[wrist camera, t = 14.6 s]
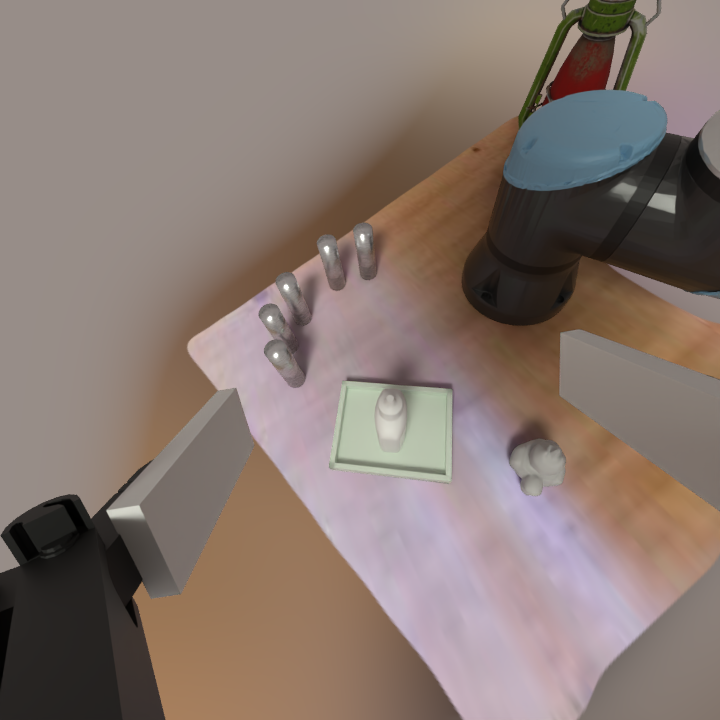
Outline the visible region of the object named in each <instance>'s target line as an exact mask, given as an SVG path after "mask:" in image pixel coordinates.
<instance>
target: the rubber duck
mask: <svg viewBox="0 0 720 720" xmlns="http://www.w3.org/2000/svg"><path fill="white" fill-rule="evenodd" d="M565 463H566V458H565V455H564V454H563V452H562V450H561V448H560V447H559V446H558V444H557V443H555V442H554V441H552V440H544V439H541V438H539V439H535V440H531V441H528V442H526V443H523V444H520V445H518V446H517V447H516V448H515V449H514V450H513V452H512V454H511V457H510V460H509V464H510V466H511V467H512V468H513V469H514V470H515V472H516V473H517V475H518V476H519V477H520V478H521V479H522V480H521V483H520V487H521V490H522V492H523V493H524V494H526V495H531V496H539V495H540V494H541V492H542V488H543V487H549V486H557V485H560V484H562V482H563V479H564V475H565Z"/></svg>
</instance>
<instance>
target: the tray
mask: <svg viewBox="0 0 720 720" xmlns="http://www.w3.org/2000/svg"><path fill="white" fill-rule="evenodd" d="M389 388H390V389H399V390H401V392H402V393H403V395H404V397H405V400H406V405H407V424H406V434H405V439H404V443H403V445H402V448H401V450H400V451H399V452H397V453H391V452H384V451H382V450H381V448H380V445H379V441H378V436H377V431H376V426H375V416H374V415H375V406H376V403H377V400H378V397H379V395H380V394H381V392H382V391H383V390H384V389H389ZM329 468H330V469H331V470H337V471H346V472H354V473H363V474H371V475H380V476H388V477H397V478H405V479H414V480H422V481H431V482H439V483H448V484H449V483H450V482H451V471H452V389H444V388H431V387H418V386H405V385H392V384H379V383H366V382H353V381H342V387H341V393H340V399H339V406H338V412H337V418H336V425H335V431H334V437H333V444H332V450H331V456H330V462H329Z"/></svg>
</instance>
